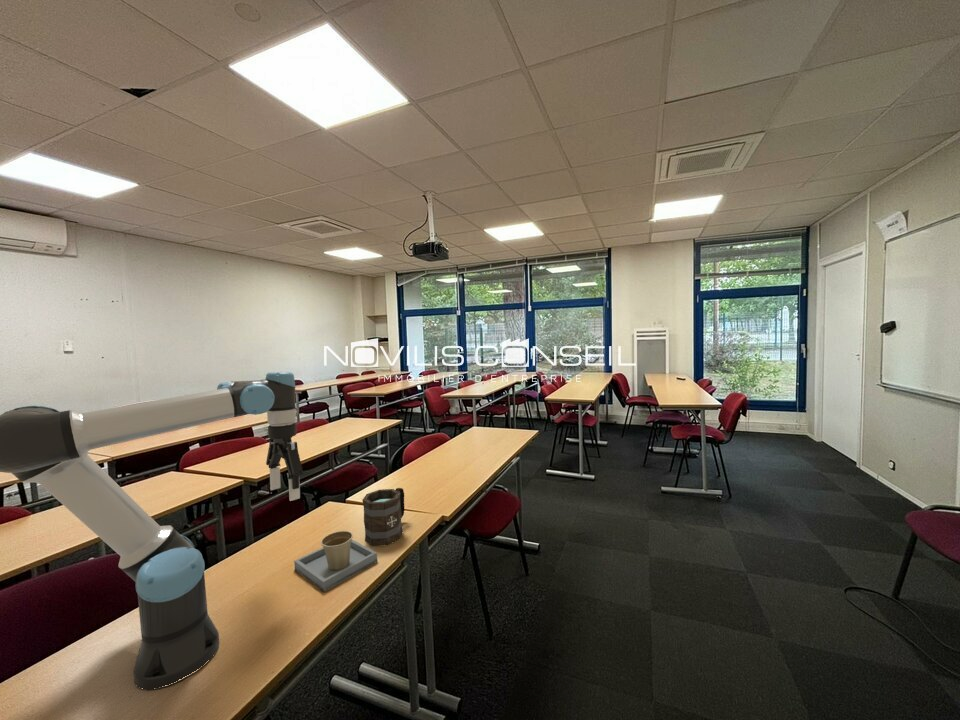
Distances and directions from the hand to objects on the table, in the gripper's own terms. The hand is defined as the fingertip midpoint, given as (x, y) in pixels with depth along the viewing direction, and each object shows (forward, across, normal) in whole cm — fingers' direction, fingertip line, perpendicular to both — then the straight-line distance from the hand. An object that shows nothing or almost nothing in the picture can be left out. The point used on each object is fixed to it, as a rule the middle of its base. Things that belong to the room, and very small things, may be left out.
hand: (284, 494), depth 113 cm
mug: (+25, -2, -36) cm, 44 cm away
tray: (+26, -6, -13) cm, 29 cm away
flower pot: (+25, -7, -12) cm, 29 cm away
